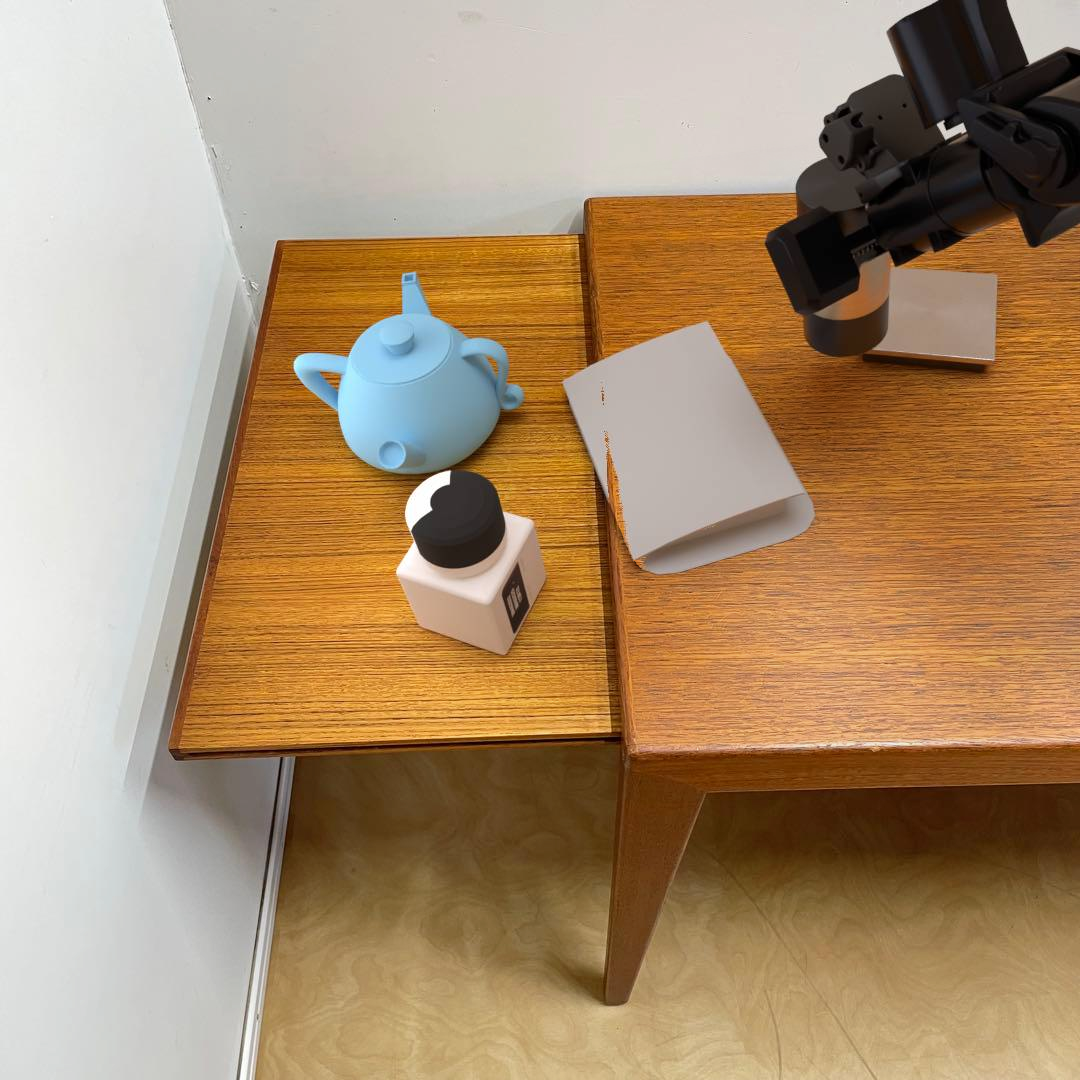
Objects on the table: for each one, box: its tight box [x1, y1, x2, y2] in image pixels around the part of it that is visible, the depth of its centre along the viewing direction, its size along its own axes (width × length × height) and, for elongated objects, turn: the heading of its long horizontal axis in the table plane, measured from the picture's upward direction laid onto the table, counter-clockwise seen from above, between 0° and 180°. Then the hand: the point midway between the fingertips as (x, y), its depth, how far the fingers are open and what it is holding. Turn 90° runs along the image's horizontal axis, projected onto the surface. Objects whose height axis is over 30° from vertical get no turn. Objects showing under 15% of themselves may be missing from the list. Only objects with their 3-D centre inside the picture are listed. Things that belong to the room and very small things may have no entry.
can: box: [795, 156, 892, 358], centre depth 75 cm, size 7×7×14 cm
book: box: [561, 320, 816, 576], centre depth 82 cm, size 15×23×4 cm, turn 15°
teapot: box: [293, 271, 525, 475], centre depth 85 cm, size 15×17×11 cm
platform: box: [861, 266, 999, 373], centre depth 88 cm, size 11×11×2 cm
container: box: [395, 469, 547, 656], centre depth 72 cm, size 8×8×13 cm
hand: (830, 247), depth 76 cm, fingers closed on can, 7 cm apart
